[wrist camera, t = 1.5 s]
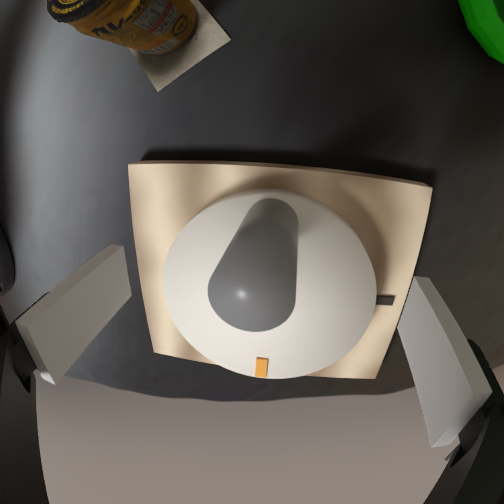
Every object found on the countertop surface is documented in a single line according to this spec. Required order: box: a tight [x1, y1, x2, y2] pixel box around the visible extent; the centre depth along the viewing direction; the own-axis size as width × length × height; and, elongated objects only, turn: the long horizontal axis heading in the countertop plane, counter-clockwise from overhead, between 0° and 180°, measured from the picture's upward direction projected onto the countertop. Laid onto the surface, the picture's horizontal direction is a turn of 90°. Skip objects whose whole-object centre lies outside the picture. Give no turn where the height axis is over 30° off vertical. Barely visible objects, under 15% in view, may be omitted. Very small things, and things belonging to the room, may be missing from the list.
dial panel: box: [128, 160, 433, 379], centre depth 26 cm, size 24×20×2 cm
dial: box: [162, 189, 377, 379], centre depth 20 cm, size 17×17×11 cm
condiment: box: [47, 0, 231, 92], centre depth 14 cm, size 7×8×12 cm
